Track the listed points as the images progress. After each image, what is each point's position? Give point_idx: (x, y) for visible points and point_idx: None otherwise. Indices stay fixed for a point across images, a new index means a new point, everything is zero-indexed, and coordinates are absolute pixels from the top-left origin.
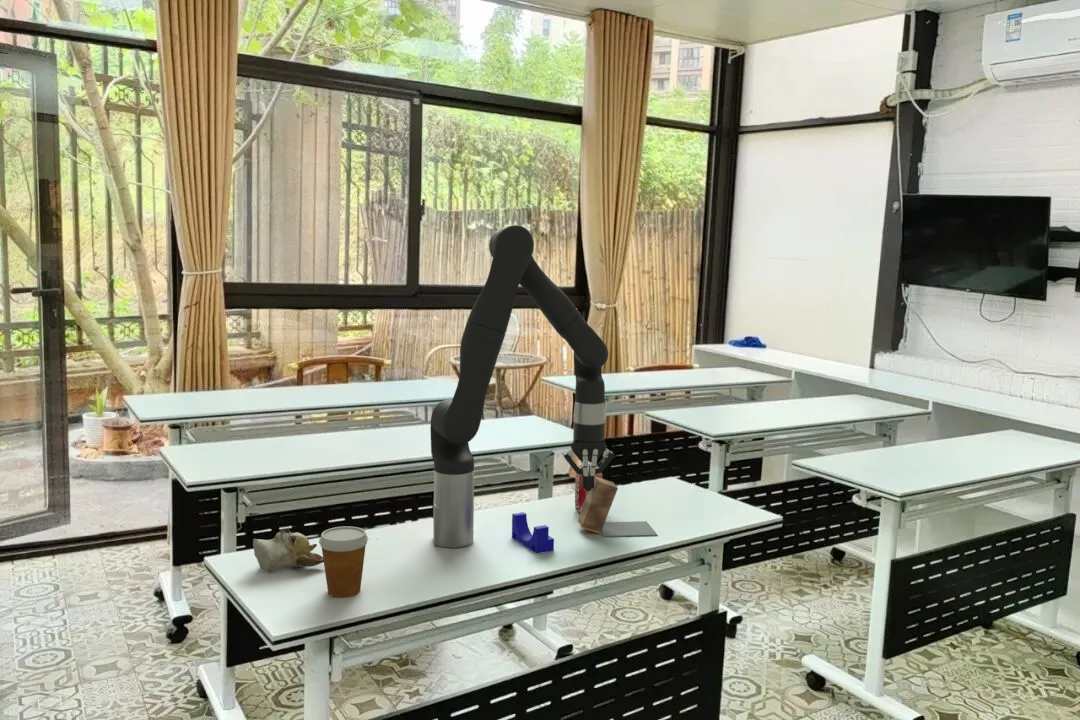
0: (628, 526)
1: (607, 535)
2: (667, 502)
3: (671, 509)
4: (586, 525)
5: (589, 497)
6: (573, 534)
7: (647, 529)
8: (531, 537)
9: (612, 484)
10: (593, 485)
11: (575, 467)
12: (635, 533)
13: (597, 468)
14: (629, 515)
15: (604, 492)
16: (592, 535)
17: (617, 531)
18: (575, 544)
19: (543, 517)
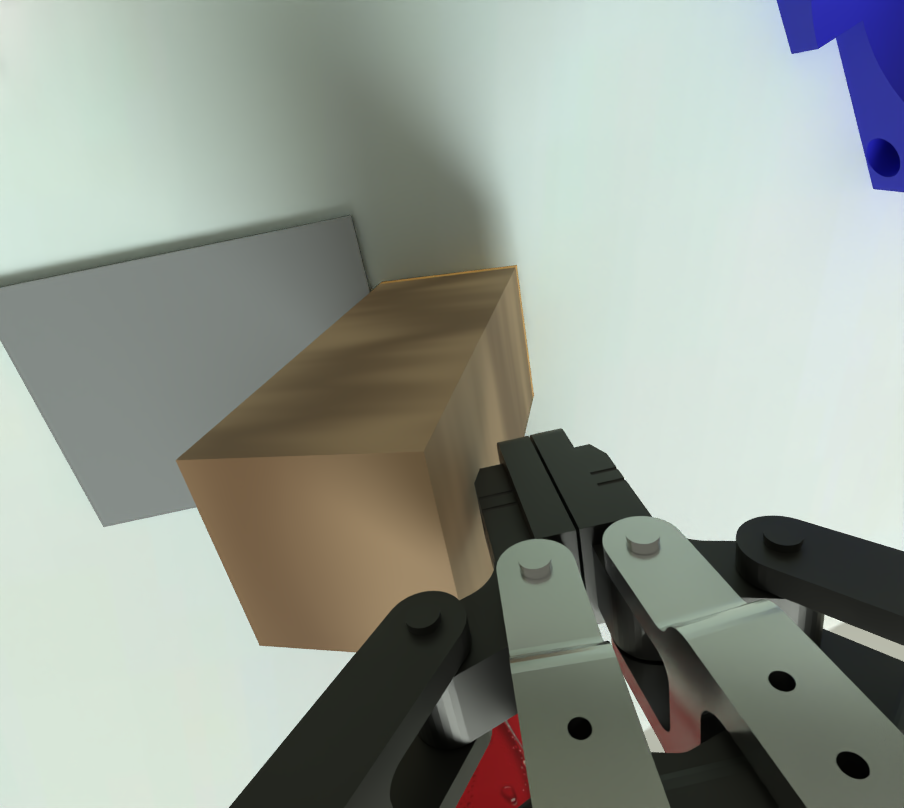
0: (204, 422)
1: (331, 230)
2: (48, 803)
3: (2, 726)
4: (483, 276)
5: (495, 437)
6: (556, 250)
7: (67, 385)
8: (888, 26)
9: (254, 550)
10: (482, 486)
11: (887, 578)
12: (137, 293)
13: (467, 669)
14: (224, 610)
15: (348, 403)
16: (433, 245)
17: (267, 319)
18: (558, 30)
19: (694, 511)
